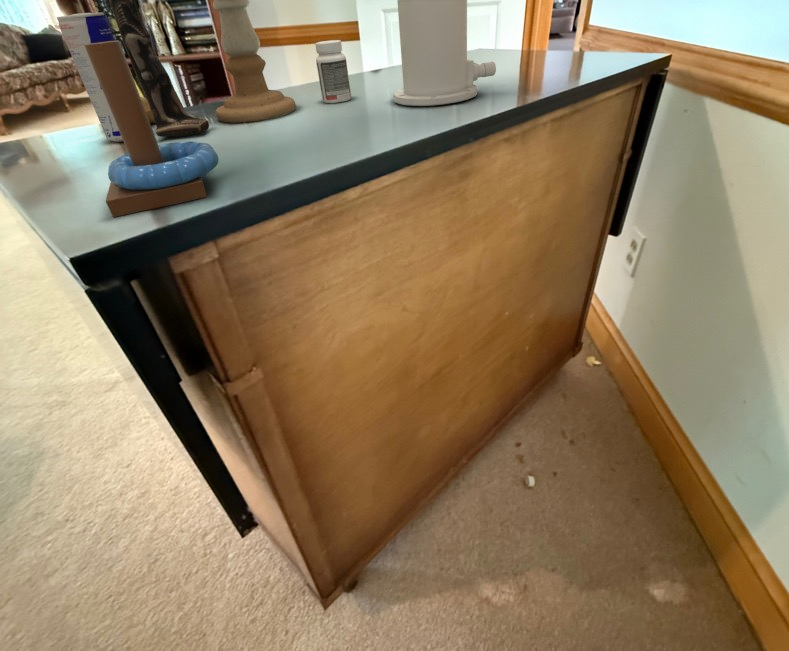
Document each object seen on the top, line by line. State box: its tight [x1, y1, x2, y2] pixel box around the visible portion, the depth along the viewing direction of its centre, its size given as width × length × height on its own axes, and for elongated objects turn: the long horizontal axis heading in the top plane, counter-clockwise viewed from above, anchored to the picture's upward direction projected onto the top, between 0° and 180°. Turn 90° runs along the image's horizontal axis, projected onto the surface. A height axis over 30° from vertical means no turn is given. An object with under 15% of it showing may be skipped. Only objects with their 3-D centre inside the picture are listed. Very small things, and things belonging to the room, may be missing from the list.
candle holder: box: [212, 0, 297, 124], centre depth 68 cm, size 12×12×20 cm
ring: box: [107, 140, 220, 190], centre depth 44 cm, size 10×10×2 cm
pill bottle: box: [314, 39, 352, 104], centre depth 74 cm, size 5×5×8 cm
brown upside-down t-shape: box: [84, 40, 208, 218], centre depth 41 cm, size 8×8×12 cm
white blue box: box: [56, 12, 124, 143], centre depth 63 cm, size 6×6×15 cm
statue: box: [108, 0, 210, 138], centre depth 59 cm, size 4×7×20 cm, turn 95°
